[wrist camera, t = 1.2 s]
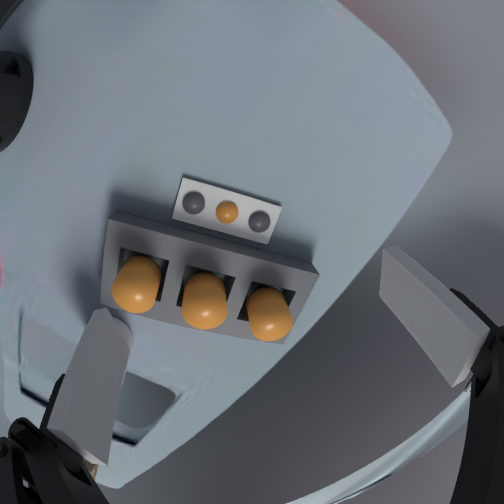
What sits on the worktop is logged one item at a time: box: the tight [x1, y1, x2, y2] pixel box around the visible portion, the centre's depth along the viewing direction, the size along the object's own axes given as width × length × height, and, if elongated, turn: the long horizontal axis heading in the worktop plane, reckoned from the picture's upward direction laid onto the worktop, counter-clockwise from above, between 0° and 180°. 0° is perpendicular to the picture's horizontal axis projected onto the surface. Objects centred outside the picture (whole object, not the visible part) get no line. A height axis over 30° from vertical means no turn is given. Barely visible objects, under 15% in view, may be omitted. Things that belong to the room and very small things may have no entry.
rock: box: [82, 458, 98, 480], centre depth 57 cm, size 11×12×10 cm
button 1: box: [246, 287, 293, 341], centre depth 34 cm, size 5×5×4 cm
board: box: [100, 211, 320, 344], centre depth 34 cm, size 26×12×3 cm, turn 70°
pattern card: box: [172, 177, 282, 245], centre depth 32 cm, size 12×5×1 cm, turn 70°
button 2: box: [112, 255, 161, 313], centre depth 30 cm, size 5×5×4 cm
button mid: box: [182, 272, 227, 329], centre depth 32 cm, size 5×5×4 cm
